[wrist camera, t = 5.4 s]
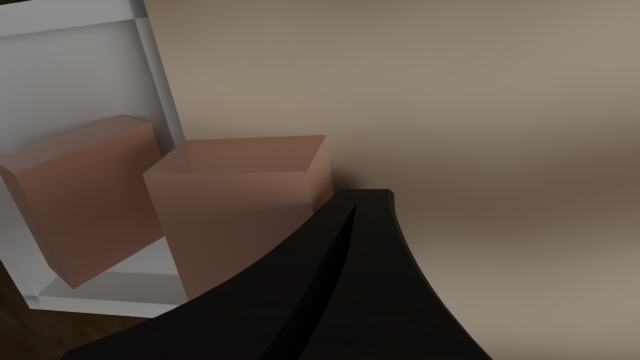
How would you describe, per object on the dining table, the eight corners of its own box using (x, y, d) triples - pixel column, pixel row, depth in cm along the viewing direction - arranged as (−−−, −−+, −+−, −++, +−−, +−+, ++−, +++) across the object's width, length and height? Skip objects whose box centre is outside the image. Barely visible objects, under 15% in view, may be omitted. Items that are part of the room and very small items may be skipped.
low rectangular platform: (691, 300, 14) (760, 393, 11) (277, 280, 18) (248, 347, 15) (843, -125, 9) (1050, -159, 6) (205, -26, 13) (138, -17, 10)
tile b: (73, 289, 13) (49, 267, 14) (183, 225, 16) (155, 211, 17) (13, 173, 11) (-9, 159, 12) (150, 122, 14) (121, 114, 15)
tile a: (342, 261, 12) (329, 312, 11) (219, 256, 13) (188, 302, 12) (326, 135, 11) (306, 171, 9) (184, 140, 12) (142, 174, 10)
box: (270, 280, 18) (250, 325, 16) (70, 271, 21) (30, 308, 19) (196, -25, 13) (150, -18, 11) (-62, 15, 16) (-140, 26, 13)
